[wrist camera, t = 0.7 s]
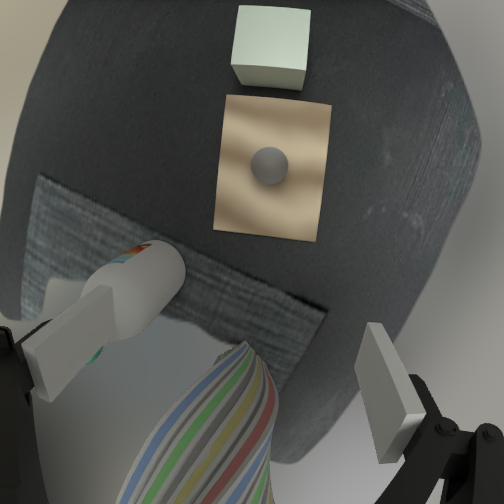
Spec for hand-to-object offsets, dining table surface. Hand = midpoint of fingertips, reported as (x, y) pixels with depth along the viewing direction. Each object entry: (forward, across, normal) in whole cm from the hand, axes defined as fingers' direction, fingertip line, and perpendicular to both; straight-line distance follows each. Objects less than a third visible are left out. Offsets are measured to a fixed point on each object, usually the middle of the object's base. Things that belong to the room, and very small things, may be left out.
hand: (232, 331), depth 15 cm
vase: (+23, -1, -18) cm, 30 cm away
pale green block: (+24, -1, +21) cm, 32 cm away
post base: (+24, 0, +8) cm, 25 cm away
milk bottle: (+24, -13, -6) cm, 28 cm away
